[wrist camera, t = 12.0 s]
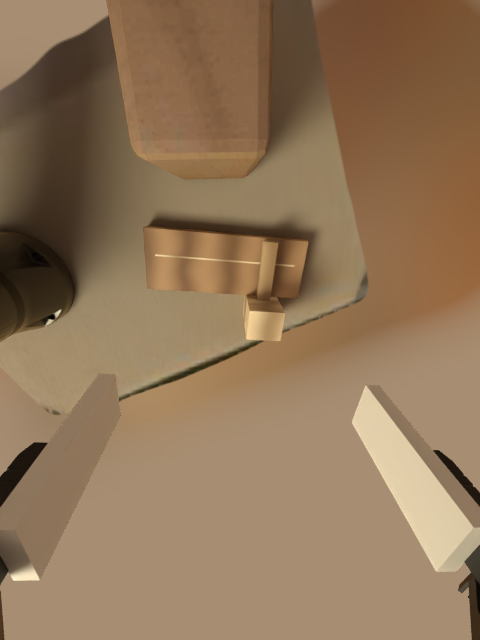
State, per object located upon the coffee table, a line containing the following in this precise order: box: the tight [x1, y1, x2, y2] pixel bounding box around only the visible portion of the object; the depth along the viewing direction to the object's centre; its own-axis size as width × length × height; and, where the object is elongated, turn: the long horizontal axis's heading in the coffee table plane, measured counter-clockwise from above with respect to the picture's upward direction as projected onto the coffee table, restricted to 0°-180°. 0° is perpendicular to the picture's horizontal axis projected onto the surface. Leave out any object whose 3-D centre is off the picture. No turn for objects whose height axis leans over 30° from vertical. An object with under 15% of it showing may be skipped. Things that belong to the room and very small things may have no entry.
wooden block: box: [107, 0, 273, 179], centre depth 25 cm, size 10×10×20 cm
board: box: [143, 226, 308, 299], centre depth 40 cm, size 24×9×2 cm, turn 85°
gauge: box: [243, 240, 285, 341], centre depth 38 cm, size 5×14×9 cm, turn 175°
